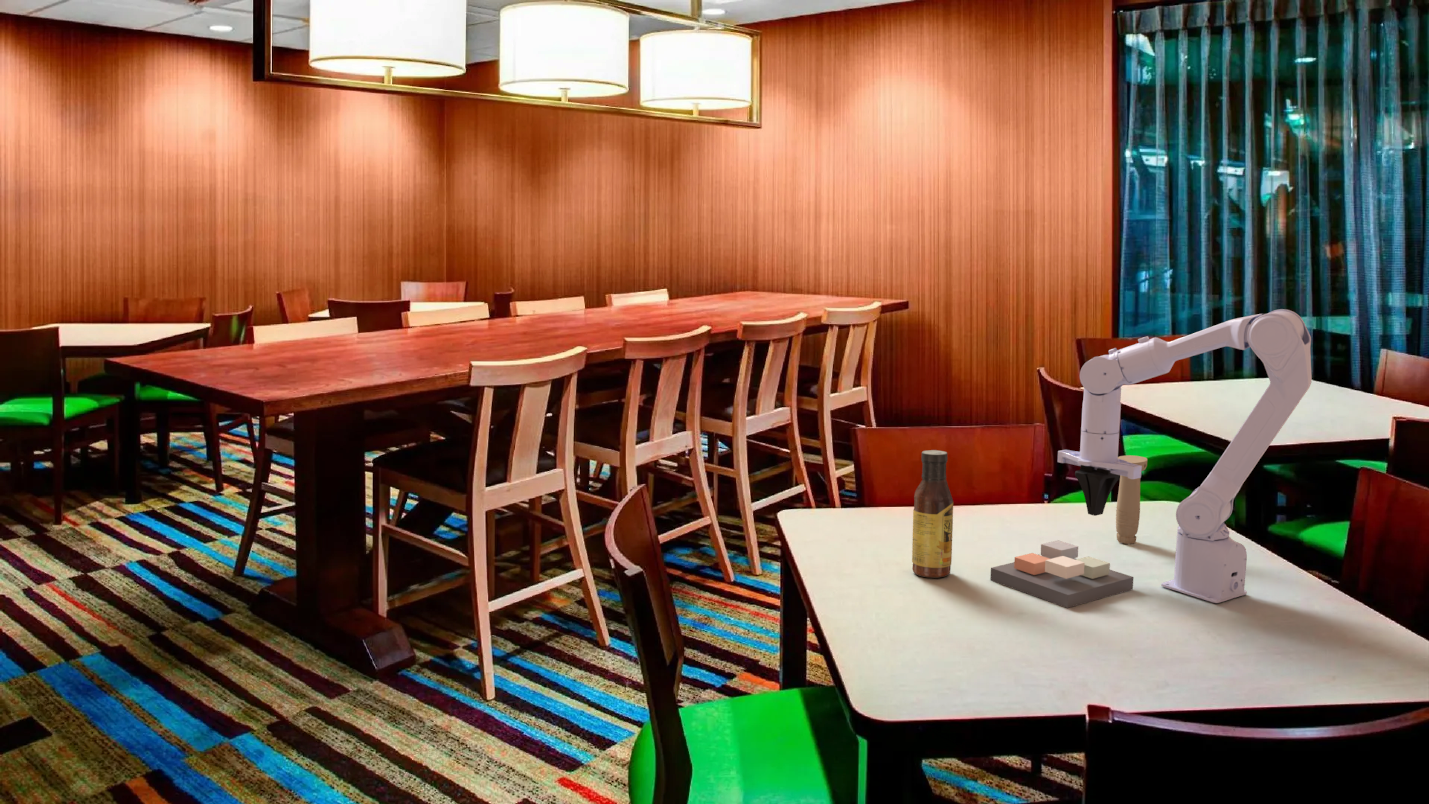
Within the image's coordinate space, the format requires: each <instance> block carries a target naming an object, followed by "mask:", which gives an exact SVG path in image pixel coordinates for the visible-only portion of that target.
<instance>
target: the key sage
mask: <svg viewBox="0 0 1429 804" xmlns="http://www.w3.org/2000/svg"><path fill="white" fill-rule="evenodd" d="M1075 559H1076V560H1078V561H1081V562H1084V563H1085V564H1084V574H1083V575H1082V576H1085V577H1088V578H1091V579H1094V578H1097V577H1101V576H1105V575H1109V571H1110V570H1111V569H1110V567H1111V562H1108V561H1104V560H1102V559H1099V558H1095V557H1091V556H1085V557H1080V558H1075Z"/></svg>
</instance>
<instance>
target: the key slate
mask: <svg viewBox="0 0 1429 804" xmlns="http://www.w3.org/2000/svg"><path fill="white" fill-rule="evenodd" d="M1040 556H1045V557H1048V558H1051V559H1052V558H1056V557H1061V556H1065V557H1068V558H1072V559H1073V558H1075V559H1078V557H1079V546H1078V545H1075V544H1071V543H1068V542H1065V541H1061V540H1058V539H1057V540H1054V541H1049V542H1045V543H1041V544H1040Z"/></svg>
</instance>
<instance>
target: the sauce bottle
mask: <svg viewBox="0 0 1429 804" xmlns="http://www.w3.org/2000/svg"><path fill="white" fill-rule="evenodd" d="M920 460H921V463H922V470H921V472H922V473H921V479H922V480H921V481H920V483H919V485H918V486H916V487H917V488H916V489H915V491H914V496H913V500H914V501H913V502H914V503H913V504H914V505H913V511H912V547H911V548H912V550H911V552H912V554H911V562H912V572H913V574H915V575H917V576H919V577H923V578H930V579H932V578H933V579H939V578H944V577H947V576H949V575H950V574H951V566H952V557H953V556H952V555H953V529H954V527H953V526H954V525H953V524H954V523H953V521H954V519H953V518H954V500H953V497H952V493H951V490H950V487H949V484H948V481H947V463H948V452H947V451H944V450H937V449H931V450H923V451H922V452H921V459H920Z"/></svg>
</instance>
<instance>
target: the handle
mask: <svg viewBox="0 0 1429 804" xmlns="http://www.w3.org/2000/svg"><path fill="white" fill-rule="evenodd" d="M1118 458H1119V459H1122V460H1125V461H1127V462H1130V463H1133V464H1136V465H1140V466H1142V470H1141V472H1143V471H1146V469H1147V467H1148V458H1147V457H1144V456H1139V455H1130V454H1128V455H1127V454H1126V455H1120V456H1119V455H1118ZM1117 493H1118V494H1117V501H1116V507H1115V508H1116V509H1115V512H1116V513H1115V528H1116V529H1115V531H1116V540H1117V541H1118V543H1120V544H1125V545H1131V544H1132V545H1133V544H1136V541H1137V536H1136V535H1137V534H1138V531H1139V525H1140V517H1141V515H1140V514H1141V478H1137V479H1129V478H1128V477H1126V476H1121V475H1120V478H1119V486H1118V492H1117Z"/></svg>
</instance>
